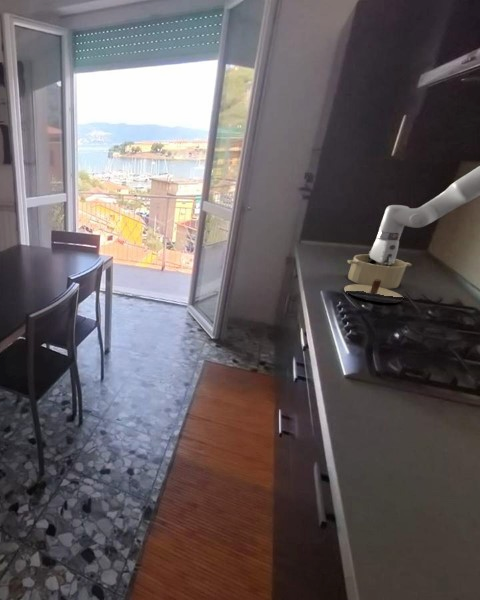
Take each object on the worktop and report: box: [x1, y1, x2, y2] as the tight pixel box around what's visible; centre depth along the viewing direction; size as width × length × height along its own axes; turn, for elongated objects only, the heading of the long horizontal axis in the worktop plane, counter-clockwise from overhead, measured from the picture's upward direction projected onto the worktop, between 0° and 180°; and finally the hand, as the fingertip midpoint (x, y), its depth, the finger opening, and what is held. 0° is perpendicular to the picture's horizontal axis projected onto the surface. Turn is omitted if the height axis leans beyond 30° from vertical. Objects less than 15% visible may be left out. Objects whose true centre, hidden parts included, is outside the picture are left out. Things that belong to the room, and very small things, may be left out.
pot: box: [347, 253, 413, 290], centre depth 155 cm, size 18×23×10 cm
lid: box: [343, 279, 403, 297], centre depth 141 cm, size 19×19×7 cm
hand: (375, 274), depth 156 cm, fingers closed on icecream, 7 cm apart
